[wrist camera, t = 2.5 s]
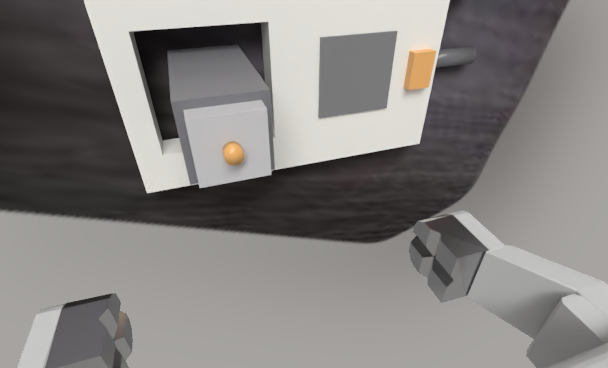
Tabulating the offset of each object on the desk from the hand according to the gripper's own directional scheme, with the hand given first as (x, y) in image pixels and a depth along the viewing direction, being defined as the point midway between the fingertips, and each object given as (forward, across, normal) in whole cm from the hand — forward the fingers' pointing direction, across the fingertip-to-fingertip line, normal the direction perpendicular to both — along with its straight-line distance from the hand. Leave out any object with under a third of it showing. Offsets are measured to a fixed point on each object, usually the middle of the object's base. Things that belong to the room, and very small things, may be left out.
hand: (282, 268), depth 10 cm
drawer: (+16, 0, 0) cm, 16 cm away
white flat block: (+16, -6, 0) cm, 17 cm away
